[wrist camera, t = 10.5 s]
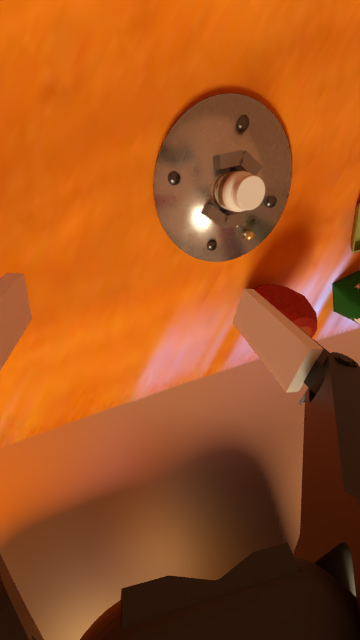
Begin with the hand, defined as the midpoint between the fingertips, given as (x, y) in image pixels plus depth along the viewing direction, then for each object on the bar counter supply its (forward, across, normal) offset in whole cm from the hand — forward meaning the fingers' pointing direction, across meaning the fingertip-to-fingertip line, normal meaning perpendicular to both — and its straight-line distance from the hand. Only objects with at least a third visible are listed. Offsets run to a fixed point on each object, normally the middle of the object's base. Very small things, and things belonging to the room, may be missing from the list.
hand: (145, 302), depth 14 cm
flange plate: (+22, +13, +7) cm, 27 cm away
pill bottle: (+22, +12, +7) cm, 26 cm away
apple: (+22, +24, -10) cm, 34 cm away
